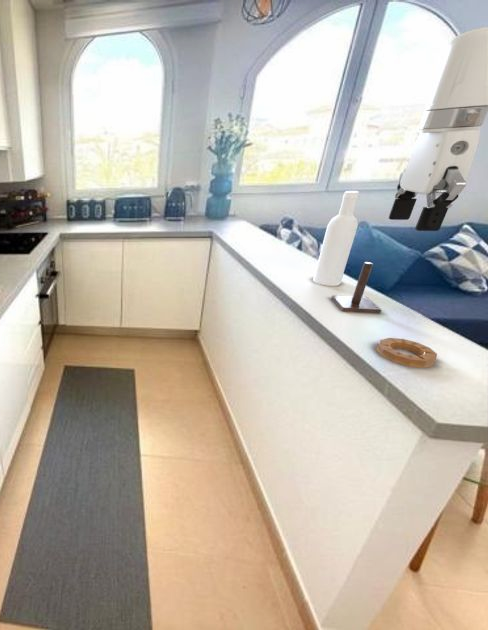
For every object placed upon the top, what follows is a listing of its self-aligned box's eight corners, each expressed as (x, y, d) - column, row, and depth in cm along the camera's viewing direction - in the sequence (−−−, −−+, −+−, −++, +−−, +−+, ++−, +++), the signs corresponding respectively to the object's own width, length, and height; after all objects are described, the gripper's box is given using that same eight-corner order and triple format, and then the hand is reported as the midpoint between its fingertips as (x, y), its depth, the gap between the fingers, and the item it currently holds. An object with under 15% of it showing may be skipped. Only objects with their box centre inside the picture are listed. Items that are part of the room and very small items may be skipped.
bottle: (346, 286, 115) (375, 192, 102) (322, 287, 115) (348, 193, 102) (330, 277, 122) (355, 189, 109) (307, 279, 122) (330, 190, 109)
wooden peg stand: (365, 301, 104) (380, 258, 98) (379, 314, 96) (397, 268, 90) (330, 299, 107) (343, 257, 101) (342, 312, 99) (356, 267, 93)
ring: (417, 347, 81) (420, 340, 80) (443, 370, 73) (447, 362, 72) (368, 343, 84) (371, 336, 83) (388, 365, 76) (391, 357, 75)
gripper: (523, 116, 49) (468, 236, 57) (447, 121, 64) (411, 215, 71) (456, 121, 51) (411, 235, 59) (397, 125, 66) (367, 215, 73)
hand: (411, 224), depth 65 cm, fingers open, 9 cm apart
